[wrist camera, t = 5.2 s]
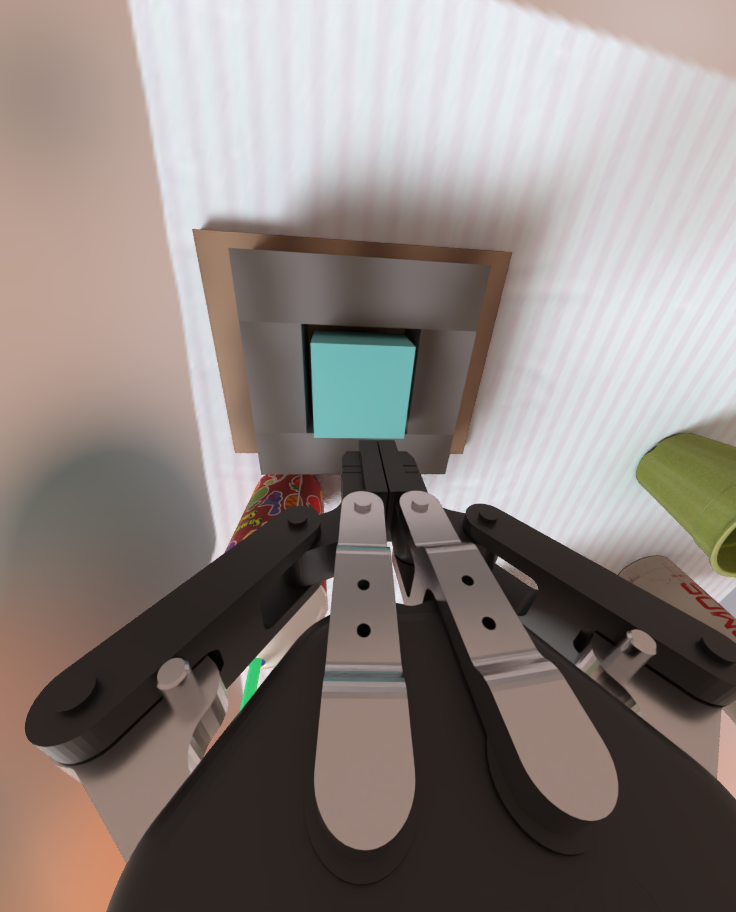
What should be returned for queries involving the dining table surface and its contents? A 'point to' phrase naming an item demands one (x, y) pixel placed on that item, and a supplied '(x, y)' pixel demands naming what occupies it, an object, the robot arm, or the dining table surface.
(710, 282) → the dining table surface
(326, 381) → the button plunger
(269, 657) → the smoothie
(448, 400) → the button console
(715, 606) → the thermos bottle
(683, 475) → the plant pot
